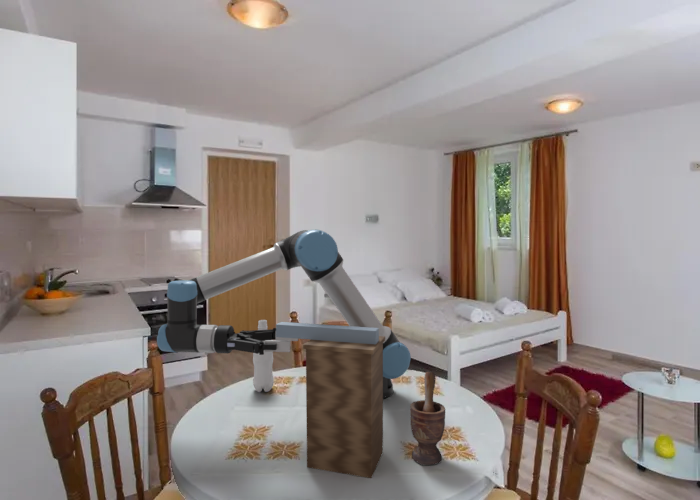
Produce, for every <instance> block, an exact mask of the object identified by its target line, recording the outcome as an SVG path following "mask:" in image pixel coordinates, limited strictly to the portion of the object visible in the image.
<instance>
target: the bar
mask: <svg viewBox="0 0 700 500" xmlns="http://www.w3.org/2000/svg"><path fill="white" fill-rule="evenodd" d="M275 328H276V337H284V338H297V339H298V340H299V339H301V340H324V341H337V342H350V343H364V344H377V342H378V341H379V328H370V327H354V326H349V325H340V324H339V325H337V324H335V325H333V324H320V323H307V322H306V323H303V322H291V321H290V322H289V321H288V322H287V321H280V322H278V323H276V324H275Z"/></svg>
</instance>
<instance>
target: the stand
mask: <svg viewBox="0 0 700 500" xmlns="http://www.w3.org/2000/svg"><path fill="white" fill-rule="evenodd" d="M384 341H385V336H379V341H378V342H377V344H364V343H350V342H337V341H324V340H311V339H308V340H307V342H305V343H303V344H302V349H303V350H305V375H306V376H305V381H306V383H305V385H306V386H305V387H306V388H305V391H306V392H305V393H306V397H305V399H306V401H305V402H306V406H305V407H306V408H305V409H306V410H305V411H306V412H305V413H306V468H307V469H308V468H309V469H315V470H320V471H326V472H332V473H333V472H334V473H337V474H344V475H349V476H357V477H361V478H367V479H372V478H373V476H374V474H375V471H376V470H377V467H378V465H379V462H380V460H381V458H382V456H383V453H384V398H383V342H384Z"/></svg>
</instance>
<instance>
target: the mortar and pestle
mask: <svg viewBox="0 0 700 500" xmlns="http://www.w3.org/2000/svg"><path fill="white" fill-rule="evenodd" d="M435 387H436V373H435V372H434V371H425V373H424V394H425V395H424V399H423V400H421V399H420V400H416V401H413V402H411V403H410V406H409V414H410V418H409V421H410V428H411V433H412V437H413V438H414V440H415V441H416V442H417V445H416V446H414V448H413V449H412V452H411V457H412V459H413V460H414V461H415V462H416V463H418V464H420V465H421V466H431V465H437V464H440V463H441V462H442V460H443V456H442V453H441V451H440V449H439V448H438V446H437V445H438V443H439V442H440V441H441V440H442V438H443V435H444V431H445V426H446V407H445V405H443V404H441V403H439V402H437V401H434V390H435Z"/></svg>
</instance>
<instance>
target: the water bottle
mask: <svg viewBox="0 0 700 500" xmlns="http://www.w3.org/2000/svg"><path fill="white" fill-rule="evenodd" d="M257 324H258V325H257V330H268V328H269V327H268V320H266V319H260V320H258V323H257ZM263 342H264V343H265V341H263ZM252 357H253V358H252V363H253V379H252V384H253V388H254V390H255V392H257V393H262V391H264V392H265V393H267V392H270V391H271V390H272V388H273V386H274V383H275V381H274V380H275V379H274V375H273V363H274V352H266V351H265V350H264V354H263V355H259V353H258V354H256V353H252Z"/></svg>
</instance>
